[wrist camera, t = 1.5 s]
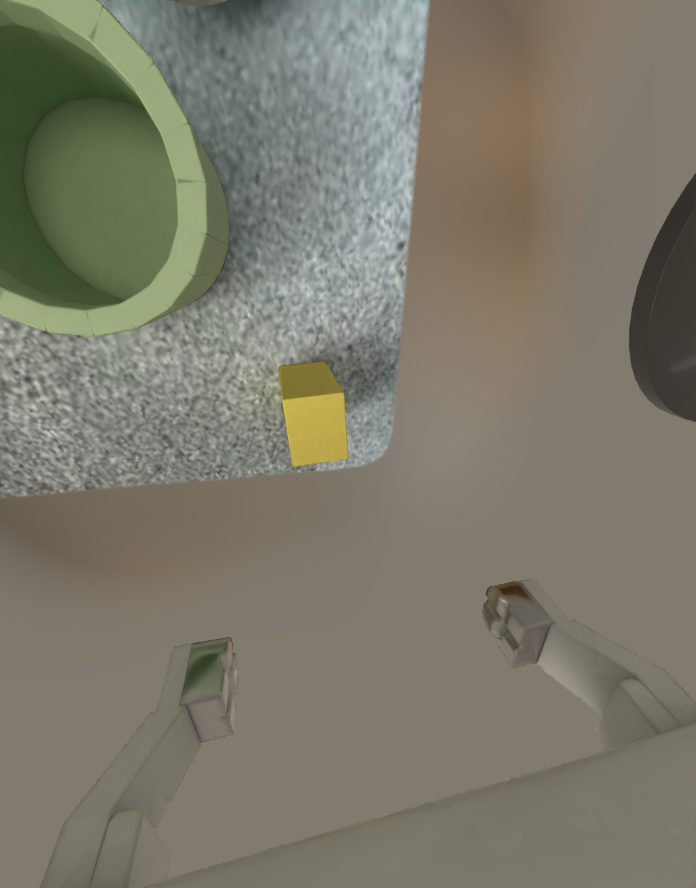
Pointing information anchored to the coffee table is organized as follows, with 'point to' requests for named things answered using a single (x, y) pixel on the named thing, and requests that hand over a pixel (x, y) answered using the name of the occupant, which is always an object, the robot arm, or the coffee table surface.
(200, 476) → the coffee table surface
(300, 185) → the coffee table surface
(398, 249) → the coffee table surface
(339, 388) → the sponge
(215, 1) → the teacup
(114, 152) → the jar
